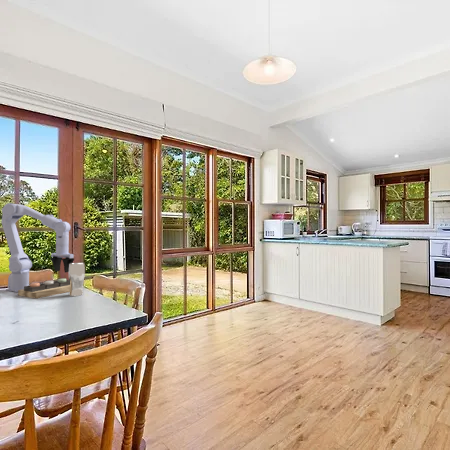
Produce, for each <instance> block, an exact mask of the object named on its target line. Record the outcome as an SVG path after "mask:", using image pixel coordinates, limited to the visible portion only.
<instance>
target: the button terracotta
mask: <svg viewBox="0 0 450 450" xmlns="http://www.w3.org/2000/svg"><path fill="white" fill-rule="evenodd" d="M40 284H41V282H31V283H29V286H30V287H38V286H40Z"/></svg>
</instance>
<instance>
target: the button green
mask: <svg viewBox="0 0 450 450" xmlns="http://www.w3.org/2000/svg"><path fill="white" fill-rule="evenodd" d="M66 280H67V278H57V281H58V282H66Z"/></svg>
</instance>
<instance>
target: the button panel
mask: <svg viewBox="0 0 450 450" xmlns="http://www.w3.org/2000/svg"><path fill="white" fill-rule="evenodd" d="M53 281H54V280H53ZM66 293H70V281H69V279H68V280H67V279H66V282H58V280H56V281H54V284H49V285H45V284H44V283H43V282H42V283H40V286H38V287H30V285H29V286H24V289H21V290H18V292H17V296H20V297H25V298H30V299H41V298H46V297H51V296H56V295H61V294H66Z"/></svg>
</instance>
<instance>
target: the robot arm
mask: <svg viewBox="0 0 450 450" xmlns="http://www.w3.org/2000/svg"><path fill="white" fill-rule="evenodd" d="M1 212H2V216H1V226H2V229H3V232H4V235H5V239H6V243H7V245H8V249H9V252H10V257H9V259H8V263H9V265H8V268H9V271H10V272H11V273H10V274H9V275H8V277H7V278H8V279H7V289H6V291H9V292H15V293H18V290H21V289H24V286H30V270H31V268H32V267H33V262H32V260H31V259H30V257H29V256H28V255H27V253H25V252H24V248H23V245H22V242H21V238H20V235H19V232H18V228H17V224H16V223H17V222H18V221H19V220H20V219H21V218H23V217H24V216H29V217H31V218H33V219H36V220H38V221H41V224H42V225H43V226H45V227H47V228H50V229H52V230H54V231H55V234H56V235H55V238H56V239H55V252H51V256H50V258H49V260H50V261H51V263H52V265H53V268H54V271H55V272H60V271H61V265H62V264H63V271H64V273H69V264H70V263H74V261H75V258H74V256H75V255H74V254H73V253H70V252H69V251H70V249H69V247H70V245H69V244H70V240H69V238H70V237H69V235H70V233H69V232H70V231H71V229H72V227H71V224H70V223H69V222H68V221H63V219H61V218H57V217H55V216H54V215H53V214H43V213H41V212H39V211H38V210H35V209H33V208H32V207H29V206H27V205H25V204H21V203H20V204H19V203H12V202H7V203H6V204H4V206H3V207H2V208H1ZM61 263H62V264H61Z"/></svg>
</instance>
